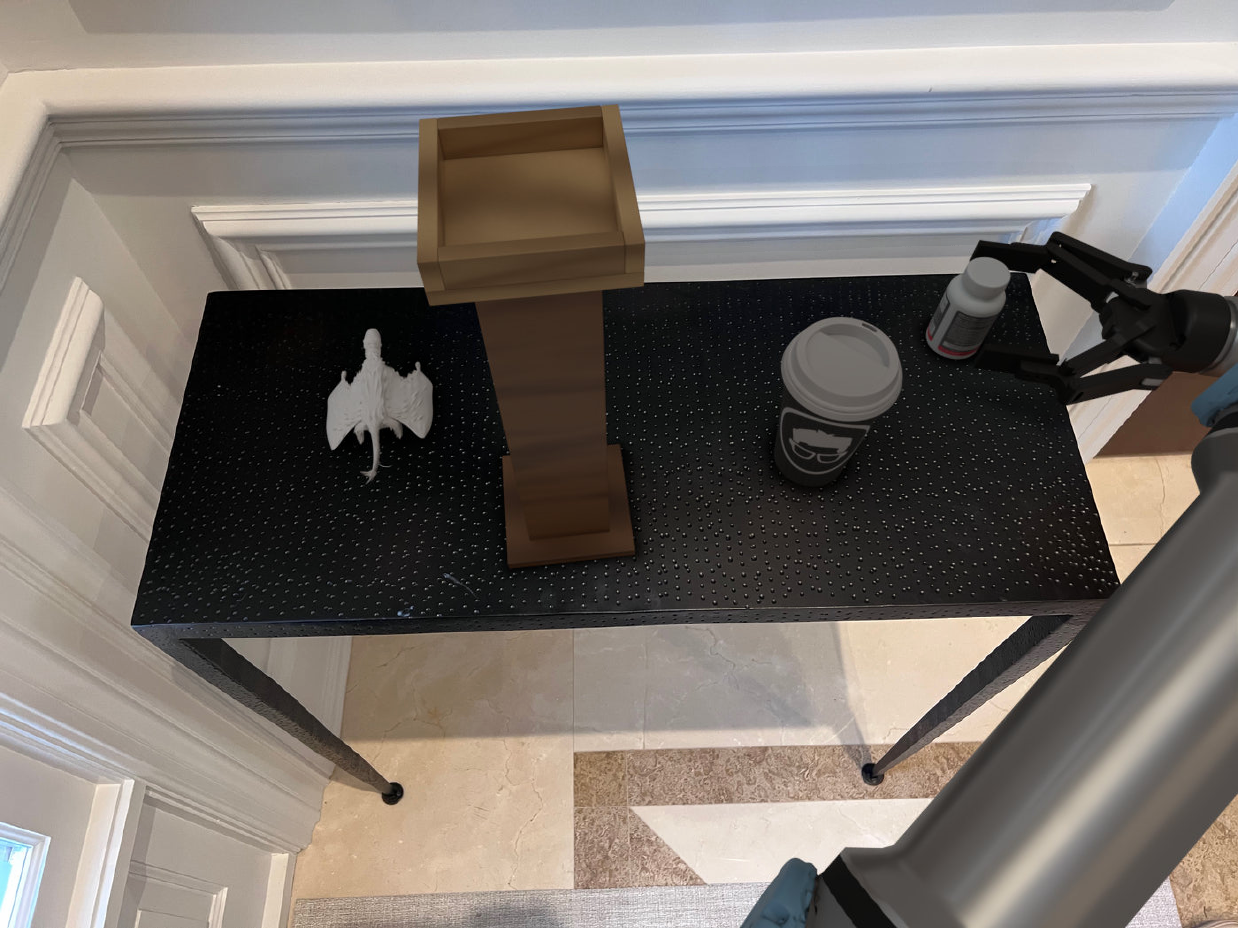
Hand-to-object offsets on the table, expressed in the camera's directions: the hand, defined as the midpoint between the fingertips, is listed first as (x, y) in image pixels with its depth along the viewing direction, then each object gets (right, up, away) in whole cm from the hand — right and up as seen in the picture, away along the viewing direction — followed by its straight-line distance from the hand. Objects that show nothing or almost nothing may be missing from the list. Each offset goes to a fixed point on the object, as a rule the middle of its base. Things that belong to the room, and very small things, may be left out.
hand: (976, 301), depth 76 cm
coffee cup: (-17, -15, -2) cm, 23 cm away
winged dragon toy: (-58, -12, 0) cm, 59 cm away
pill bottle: (0, -3, +5) cm, 6 cm away
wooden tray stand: (-39, -20, -5) cm, 44 cm away
